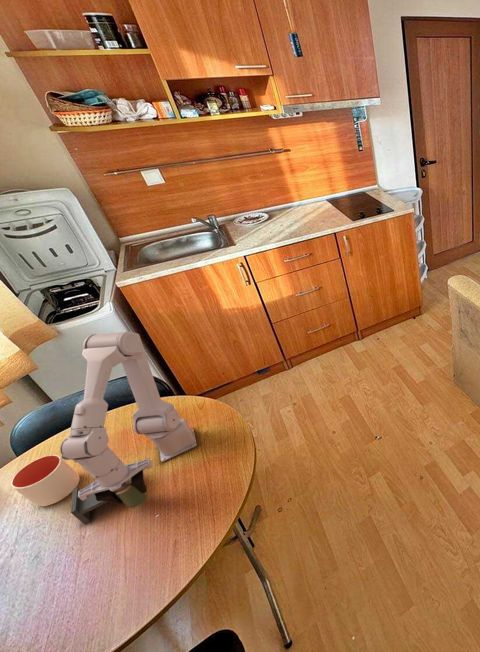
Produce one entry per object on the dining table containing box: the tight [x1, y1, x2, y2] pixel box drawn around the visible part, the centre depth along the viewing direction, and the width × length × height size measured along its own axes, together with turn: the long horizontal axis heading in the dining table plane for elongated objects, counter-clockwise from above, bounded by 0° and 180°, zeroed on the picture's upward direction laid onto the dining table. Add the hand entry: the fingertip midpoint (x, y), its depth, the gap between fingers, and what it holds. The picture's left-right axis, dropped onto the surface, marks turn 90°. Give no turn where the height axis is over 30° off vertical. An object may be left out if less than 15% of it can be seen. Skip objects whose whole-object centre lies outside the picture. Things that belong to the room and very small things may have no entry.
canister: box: [111, 478, 148, 509], centre depth 100 cm, size 5×5×8 cm
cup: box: [10, 454, 81, 507], centre depth 104 cm, size 10×10×10 cm
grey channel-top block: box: [70, 486, 110, 525], centre depth 103 cm, size 12×8×6 cm, turn 128°
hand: (133, 495), depth 101 cm, fingers closed on canister, 4 cm apart
